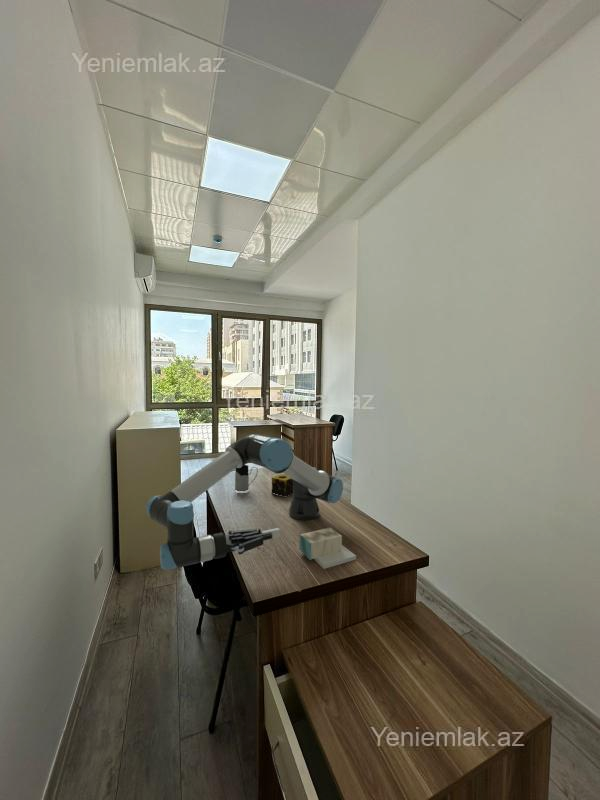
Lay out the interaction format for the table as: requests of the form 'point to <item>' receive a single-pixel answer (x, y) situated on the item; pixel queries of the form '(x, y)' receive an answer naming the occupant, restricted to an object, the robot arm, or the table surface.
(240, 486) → the glass mug
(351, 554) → the pad
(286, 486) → the candle
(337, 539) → the birch block
